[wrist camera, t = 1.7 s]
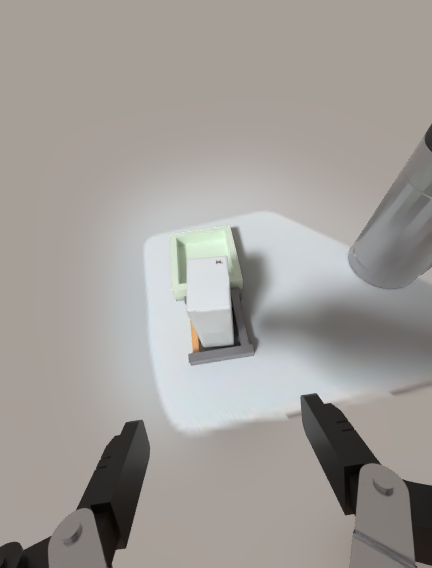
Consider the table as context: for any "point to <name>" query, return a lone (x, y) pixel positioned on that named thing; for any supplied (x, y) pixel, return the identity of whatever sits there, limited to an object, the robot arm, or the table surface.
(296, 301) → the table surface
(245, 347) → the grey shallow square tray
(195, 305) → the skincare box
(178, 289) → the parts tray
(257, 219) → the table surface
